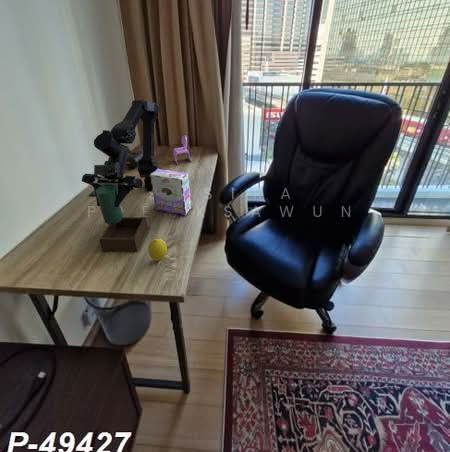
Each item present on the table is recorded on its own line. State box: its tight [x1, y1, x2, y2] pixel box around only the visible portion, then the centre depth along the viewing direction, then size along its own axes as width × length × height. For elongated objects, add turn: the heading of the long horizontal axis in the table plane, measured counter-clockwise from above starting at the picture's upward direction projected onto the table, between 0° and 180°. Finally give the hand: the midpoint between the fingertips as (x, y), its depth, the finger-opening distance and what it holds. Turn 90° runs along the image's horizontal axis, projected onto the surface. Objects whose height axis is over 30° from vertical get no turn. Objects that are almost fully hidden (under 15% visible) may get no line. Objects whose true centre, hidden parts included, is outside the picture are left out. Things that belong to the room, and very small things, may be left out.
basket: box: [98, 216, 149, 252], centre depth 86 cm, size 12×12×5 cm
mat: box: [89, 183, 118, 197], centre depth 116 cm, size 11×11×1 cm
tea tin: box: [96, 184, 124, 225], centre depth 82 cm, size 6×6×12 cm
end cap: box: [126, 150, 143, 170], centre depth 138 cm, size 10×7×7 cm
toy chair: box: [172, 135, 193, 165], centre depth 140 cm, size 8×9×15 cm
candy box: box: [150, 168, 192, 216], centre depth 99 cm, size 14×6×16 cm, turn 71°
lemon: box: [147, 238, 168, 262], centre depth 77 cm, size 6×6×8 cm
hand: (107, 206), depth 81 cm, fingers closed on tea tin, 6 cm apart
